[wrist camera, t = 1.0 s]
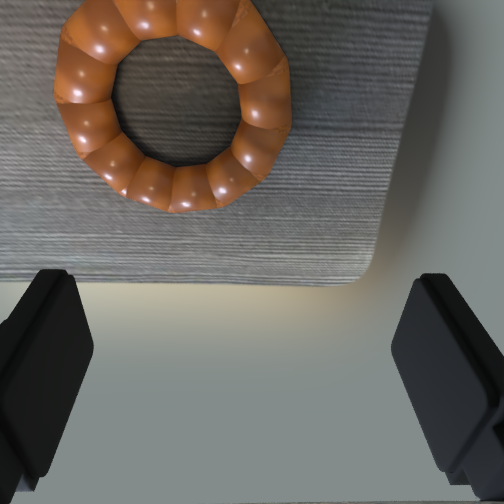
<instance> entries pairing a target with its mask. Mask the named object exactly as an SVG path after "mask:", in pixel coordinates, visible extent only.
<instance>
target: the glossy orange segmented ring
mask: <svg viewBox="0 0 504 504" xmlns="http://www.w3.org/2000/svg"><path fill="white" fill-rule="evenodd" d="M177 35H180V36H182V37H184V38H186V39H188V40H190V41H193V42H195V43H197V44H199V45H201V46H204V47H206V48H208V49H210V50H212V51H214V52H215V53H216V54H217V55H218V57H219V58H220V60H221V61H222V62H223V64H224V65H225V66H226V68H227V69H228V71H229V72H230V73H231V75H232V76H233V77H234V79H235V80H236V82H237V83H238V91H239V98H240V106H241V113H242V119H241V121H240V123H239V126H238V128H237V131H236V133H235V136H234V138H233V141H232V143H231V146H229V147H228V148H227V149H226V150H224V151H223V152H222V153H220V154H219V155H218V156H216V157H215V158H214V159H212V160H211V161H210V162H208V163H207V164H199V165H191V166H183V167H174V166H171V165H169V164H166V163H163V162H161V161H158V160H155V159H153V158H150V157H147V156H145V155H144V154H143V153H142V152H141V151H140V150H139V148H138V147H137V146H136V145H135V144H134V143H133V142H132V141H131V140H130V139H129V138H128V137H127V136H126V135H125V134H124V133H123V132H122V131H121V128H120V125H119V122H118V118H117V115H116V112H115V109H114V106H113V103H112V100H111V94H112V89H113V85H114V80H115V75H116V70H117V65H118V63H119V62H120V61H122V60H123V59H124V58H125V57H126V56H127V55H128V54H129V53H130V52H131V51H132V50H133V49H134V48H135V47H136V46H137V45H138V44H139V43H140V42H141V41H142V40H148V39H155V38H163V37H170V36H177ZM53 94H54V99H55V102H56V104H57V107H58V109H59V112H60V114H61V117H62V119H63V122H64V124H65V126H66V129H67V131H68V134H69V136H70V139H71V141H72V144H73V146H74V149H75V151H76V153H77V154H78V156H79V157H80V158H81V159H82V160H83V161H84V162H85V163H86V164H87V165H88V166H89V167H90V168H91V169H92V170H94V171H95V172H96V173H97V174H98V175H99V176H100V177H101V178H102V179H103V180H104V181H105V182H106V183H108V184H109V185H110V186H111V187H112V188H113V189H114V190H115V191H116V192H117V193H119V194H120V195H121V196H124V197H126V198H129V199H132V200H135V201H138V202H140V203H143V204H146V205H149V206H152V207H155V208H158V209H161V210H164V211H167V212H171V213H181V212H189V211H198V210H206V209H215V208H221V207H224V206H226V205H228V204H230V203H231V202H233V201H234V200H236V199H237V198H238V197H240V196H241V195H243V194H244V193H246V192H247V191H249V190H250V189H252V188H253V187H254V186H256V185H257V184H259V183H260V182H262V181H263V180H264V179H265V178H266V177H267V176H268V175H269V173H270V171H271V169H272V167H273V165H274V163H275V161H276V159H277V157H278V155H279V153H280V151H281V149H282V147H283V145H284V142H285V140H286V138H287V136H288V134H289V132H290V130H291V126H292V107H291V90H290V73H289V63H288V60H287V57H286V55H285V53H284V52H283V50H282V49H281V47H280V45H279V44H278V42H277V41H276V39H275V38H274V36H273V34H272V33H271V31H270V30H269V28H268V27H267V25H266V23H265V22H264V20H263V19H262V17H261V15H260V14H259V12H258V11H257V9H256V8H255V6H254V5H253V3H252V2H251V1H250V0H85V1H84V2H83V3H82V4H81V5H80V7H79V8H78V9H77V10H76V11H75V12H74V13H73V14H72V15H71V16H70V17H69V18H68V20H67V21H66V22H65V23H64V25H63V27H62V30H61V33H60V40H59V48H58V56H57V64H56V72H55V80H54V88H53Z"/></svg>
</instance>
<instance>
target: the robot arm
mask: <svg viewBox="0 0 504 504" xmlns="http://www.w3.org/2000/svg"><path fill="white" fill-rule="evenodd" d="M93 349H94V345H93V340H92V336H91V333H90V329H89V326H88V323H87V319H86V316H85V312H84V309H83V305H82V302H81V299H80V295H79V292H78V288H77V285H76V281H75V278H74V276H73V275H68V273H67V272H66V270H63V269H42V270H40V271H39V272H38V273H37V275H36V276H35V278H34V279H33V281H32V282H31V284H30V285H29V287H28V288H27V290H26V292H25V293H24V294H23V296H22V297H21V299H20V301H19V302H18V304H17V305H16V307H15V308H14V310H13V311H12V312H11V314H10V316H9V317H8V318H7V319H6V320H4V321H3V322H2V323H1V324H0V504H9V503H10V502H11V500H12V498H13V496H14V493H15V492H18V491H20V492H22V491H34V490H35V488H36V485H37V483H38V480H39V477H44V476H45V475H46V474H47V473H48V471H49V468H50V466H51V463H52V461H53V458H54V455H55V453H56V450H57V447H58V445H59V442H60V439H61V437H62V434H63V431H64V429H65V426H66V423H67V421H68V418H69V416H70V413H71V410H72V408H73V405H74V402H75V399H76V397H77V395H78V392H79V389H80V386H81V384H82V381H83V379H84V376H85V373H86V371H87V368H88V365H89V363H90V360H91V358H92V355H93ZM391 352H392V356H393V358H394V361H395V364H396V366H397V369H398V371H399V373H400V376H401V378H402V381H403V383H404V386H405V388H406V390H407V393H408V396H409V398H410V400H411V403H412V406H413V408H414V411H415V413H416V415H417V418H418V420H419V423H420V425H421V428H422V430H423V433H424V435H425V438H426V440H427V443H428V445H429V448H430V450H431V452H432V455H433V458H434V460H435V463H436V465H437V467H438V468H439V470H440V471H442V472H445V473H446V476H447V478H448V481H449V483H450V485H471V487H472V490H473V492H474V494H475V496H476V498H475V501H380V502H379V501H376V502H304V503H303V502H300V503H244V504H504V356H503V355H502V353H501V352H500V350H499V349H498V347H497V346H496V345H495V343H494V342H493V340H492V339H491V337H490V336H489V334H488V333H487V331H486V330H485V329H484V327H483V326H482V324H481V323H480V321H479V320H478V318H477V317H476V316H475V314H474V313H473V311H472V310H471V308H470V307H469V306H468V304H467V303H466V301H465V300H464V298H463V297H462V295H461V294H460V293H459V291H458V290H457V288H456V287H455V285H454V284H453V282H452V281H451V280H450V278H449V277H448V276H447V275H446V274H440V273H437V274H436V273H433V274H431V273H425V274H422V275H421V276H420V278H418V279H415V281H414V282H413V285H412V288H411V291H410V293H409V296H408V299H407V302H406V304H405V307H404V310H403V313H402V316H401V319H400V321H399V324H398V327H397V329H396V332H395V335H394V338H393V340H392V344H391ZM241 504H243V503H241Z"/></svg>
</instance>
